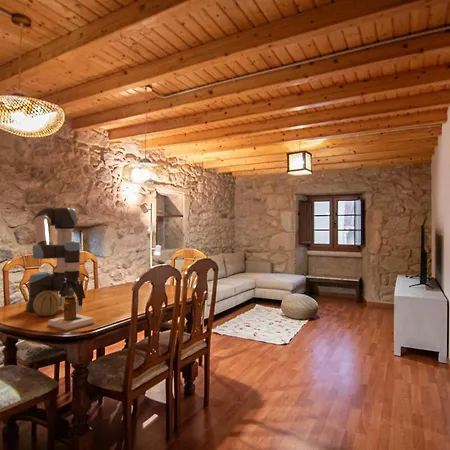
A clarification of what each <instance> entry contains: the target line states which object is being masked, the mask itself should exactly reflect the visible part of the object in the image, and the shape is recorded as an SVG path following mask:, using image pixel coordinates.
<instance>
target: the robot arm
mask: <svg viewBox="0 0 450 450" xmlns="http://www.w3.org/2000/svg"><path fill="white" fill-rule="evenodd" d="M32 220H33V226H34V227H35V243H36V244H33V246H32V258H33V259H35V260H36V259H38V260H46V259H47V260H48V259H56V268H55V269H54V270H53V273H51V271H41V272H40V271H39V272H35V273H32V274H31V275H30V276H29V279H28V283H29V287H28V289H29V290H28V292H29V293H28V300H27V303H26V305H25V311H26V312H28V313H36V312H35V311H34V308H33V302H34V299H35V297H36V296H37V295H38V294H39V293H41V292H43V291H53V292H55V293H58V296H60V297H61V301H62V302H61V310H64V302H65V297H67V293H68V291H69V290H74V295H75V297H76V298H77V299H76V313H80V312H83V301H84V299H85V298H86V294H85V291H84V286H83V283H82V282H83V281H82V280H81V279H79V278H80V277H81V276H80V275H81V274H80V271H81V270H80V269H81V265H80V264H81V263H80V261H81V260H80V255H81V250H80V249H81V244H80V241H76V240H75V241H74V240H73V231H74V230H75V227H77V226H78V216H77V212H76V209H75V208H73V207H50V206H49V207H45V208H42V209H40V210H38V211H37V212H36V214H35V215H34V217H33V219H32ZM51 227H54V229H55V231H57V233H56V234H57V235H56V236H57V237H56V241H57V242H56V244H52V236H51ZM78 279H79V280H78Z"/></svg>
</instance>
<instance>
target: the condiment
mask: <svg viewBox="0 0 450 450" xmlns="http://www.w3.org/2000/svg"><path fill="white" fill-rule="evenodd" d="M76 298H77V296H76V295H75V296H74V295H73V296H67V297H65V302H64V309H63V317H64V319H61V320H64V321H73V320H76V319H80V317H76V314H77V299H76Z"/></svg>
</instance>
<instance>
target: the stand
mask: <svg viewBox="0 0 450 450" xmlns="http://www.w3.org/2000/svg"><path fill="white" fill-rule="evenodd" d="M76 317H80V319H76V320H73V321H64V320H61V319H64V316H61V317H56V318H52V319H48V324H47V327H51V328H54V329H58V330H60V331H65V332H67V331H72V330H75V329H80V328H83V327H86V326H90V325H94V324H95V318H94V317H92V316H91V317H90V316H88V315H87V316H86V315H82V314H77V313H76Z"/></svg>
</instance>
